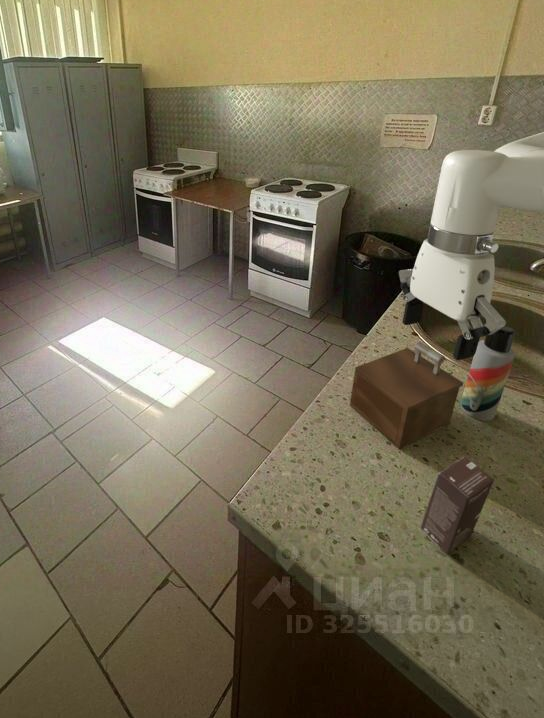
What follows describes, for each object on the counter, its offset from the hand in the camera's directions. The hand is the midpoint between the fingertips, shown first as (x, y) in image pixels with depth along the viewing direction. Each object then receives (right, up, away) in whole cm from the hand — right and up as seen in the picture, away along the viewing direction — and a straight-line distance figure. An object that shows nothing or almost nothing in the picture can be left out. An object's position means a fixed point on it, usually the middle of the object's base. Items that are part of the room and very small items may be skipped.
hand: (435, 339), depth 63 cm
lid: (+3, -11, +13) cm, 18 cm away
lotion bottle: (+19, -19, +17) cm, 32 cm away
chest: (+3, -19, +16) cm, 26 cm away
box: (-1, -28, -5) cm, 28 cm away
